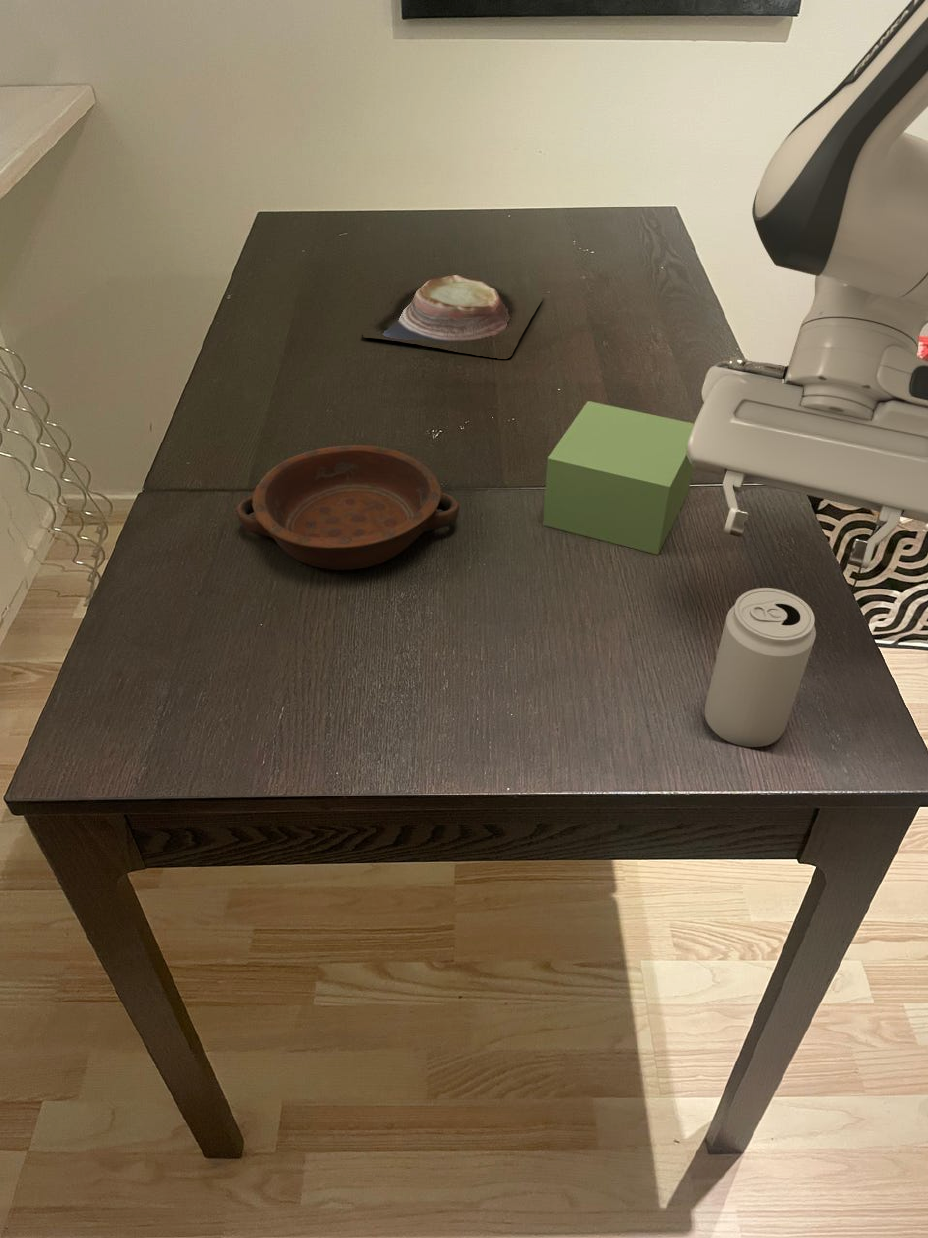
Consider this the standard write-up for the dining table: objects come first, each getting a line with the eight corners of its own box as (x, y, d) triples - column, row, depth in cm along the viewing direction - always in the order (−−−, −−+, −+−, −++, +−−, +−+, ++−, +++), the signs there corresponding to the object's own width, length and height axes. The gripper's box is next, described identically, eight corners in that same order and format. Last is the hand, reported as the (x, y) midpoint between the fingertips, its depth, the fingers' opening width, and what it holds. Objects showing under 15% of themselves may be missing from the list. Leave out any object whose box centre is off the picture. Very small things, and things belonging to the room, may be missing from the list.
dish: (463, 583, 90) (463, 541, 86) (227, 591, 89) (218, 549, 86) (455, 479, 103) (455, 439, 99) (249, 485, 102) (242, 445, 99)
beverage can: (791, 754, 74) (831, 642, 66) (709, 752, 75) (738, 641, 66) (773, 694, 79) (808, 584, 71) (696, 693, 79) (722, 583, 71)
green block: (688, 491, 101) (701, 424, 96) (658, 555, 93) (670, 486, 88) (581, 465, 105) (587, 400, 99) (543, 525, 97) (547, 457, 91)
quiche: (358, 340, 127) (356, 311, 125) (408, 281, 142) (407, 254, 139) (510, 361, 123) (511, 332, 120) (545, 298, 137) (547, 271, 135)
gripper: (710, 337, 74) (658, 508, 74) (997, 391, 67) (940, 578, 67) (713, 365, 80) (666, 524, 80) (977, 417, 73) (925, 589, 73)
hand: (794, 549), depth 73 cm, fingers open, 8 cm apart
